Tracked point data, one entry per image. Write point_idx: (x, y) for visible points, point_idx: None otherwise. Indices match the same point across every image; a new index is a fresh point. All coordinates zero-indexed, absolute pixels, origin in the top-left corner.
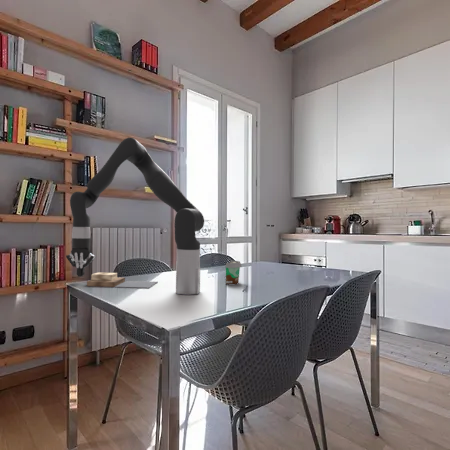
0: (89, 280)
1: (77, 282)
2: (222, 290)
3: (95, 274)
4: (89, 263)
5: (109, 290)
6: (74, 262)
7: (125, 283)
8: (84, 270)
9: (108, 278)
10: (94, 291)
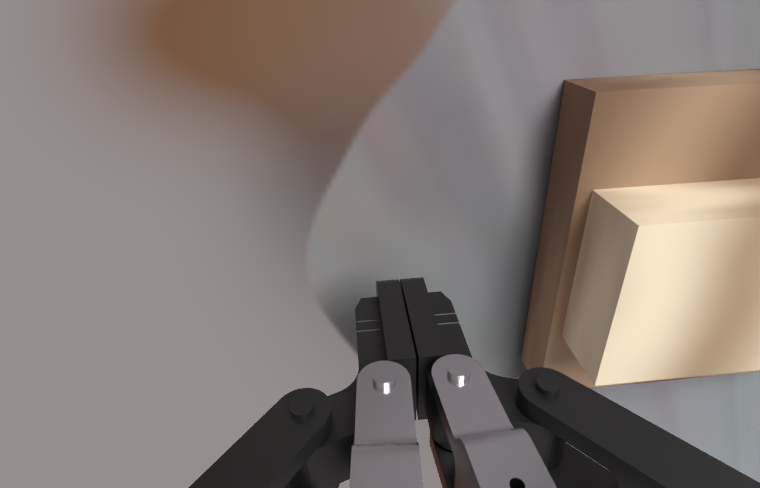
0: (547, 354)
1: (330, 223)
2: None
3: (645, 380)
4: (602, 424)
5: (732, 433)
6: (266, 468)
7: None
8: (462, 336)
9: None
10: None
